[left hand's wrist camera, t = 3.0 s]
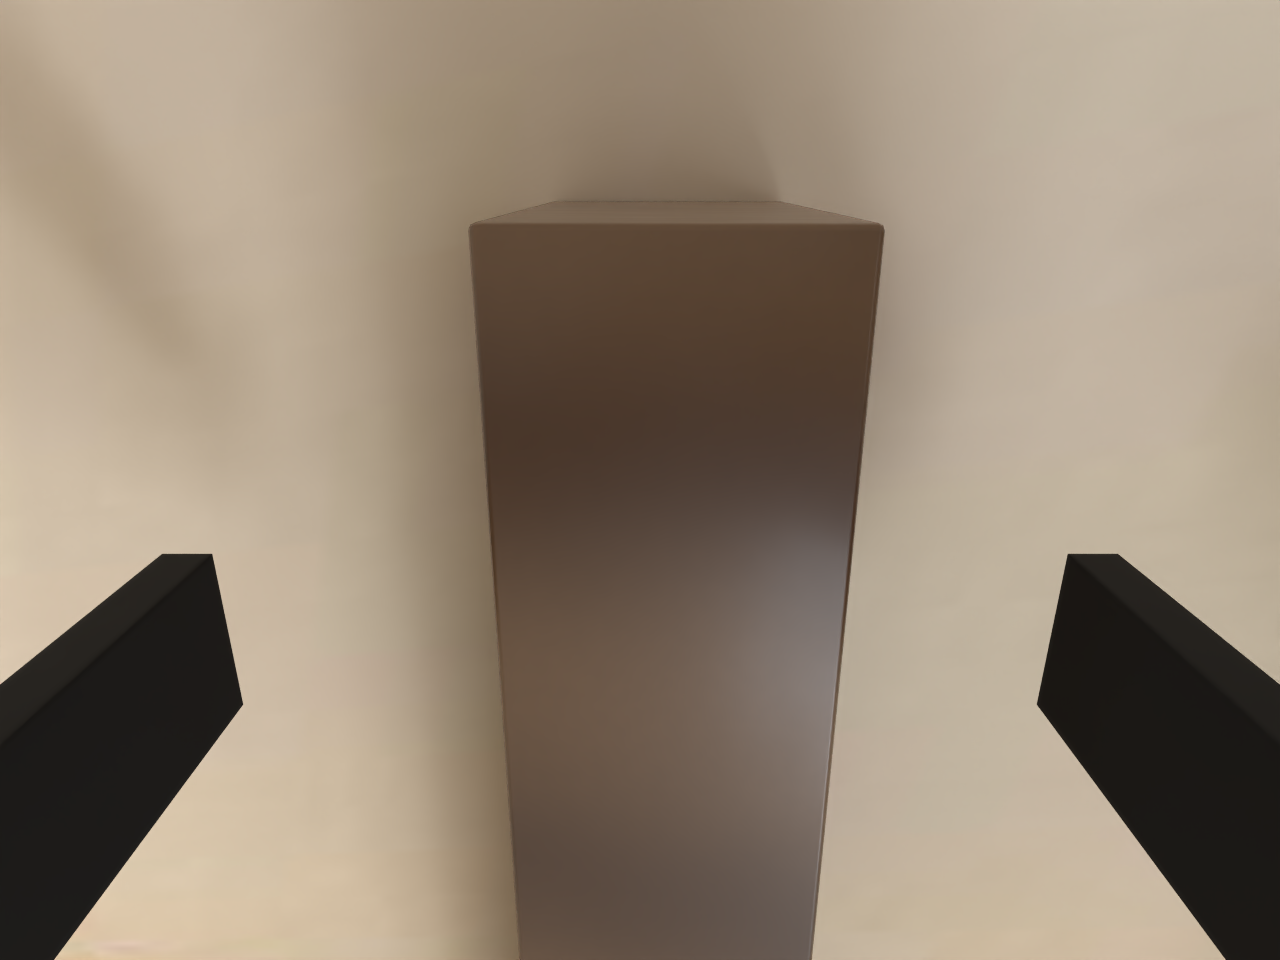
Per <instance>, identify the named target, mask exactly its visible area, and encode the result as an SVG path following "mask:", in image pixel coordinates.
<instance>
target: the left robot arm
mask: <svg viewBox="0 0 1280 960" xmlns="http://www.w3.org/2000/svg"><path fill="white" fill-rule="evenodd" d="M242 705H243V701H242V697H241V692H240V687H239V682H238V677H237V672H236V667H235V663H234V658H233V653H232V648H231V643H230V638H229V633H228V629H227V624H226V619H225V614H224V609H223V604H222V599H221V595H220V590H219V585H218V580H217V575H216V570H215V565H214V561H213V556H212V554H162V555H160V556H159V557H158V558H157V559H155V560H154V561H153V562H152V563H150V564H149V565H148V566H147V567H145V568H144V569H143V570H142V571H140V572H139V573H138V574H137V575H136V576H134V577H133V578H132V579H131V580H129V581H128V582H127V583H126V584H124V585H123V586H122V587H121V588H119V589H118V590H117V591H116V592H114V593H113V594H112V595H111V596H109V597H108V598H107V599H106V600H105V601H103V602H102V603H101V604H100V605H98V606H97V607H96V608H95V609H93V610H92V611H91V612H90V613H88V614H87V615H86V616H85V617H83V618H82V619H81V620H80V621H78V622H77V623H76V624H75V625H74V626H72V627H71V628H70V629H69V630H67V631H66V632H65V633H64V634H62V635H61V636H60V637H59V638H57V639H56V640H55V641H54V642H52V643H51V644H50V645H49V646H47V647H46V648H45V649H44V650H43V651H41V652H40V653H39V654H38V655H36V656H35V657H34V658H33V659H31V660H30V661H29V662H28V663H26V664H25V665H24V666H23V667H21V668H20V669H19V670H18V671H16V672H15V673H14V674H13V675H12V676H10V677H9V678H8V679H7V680H5V681H4V682H3V683H2V684H0V960H54V959H55V958H56V956H57V955H58V954H59V952H60V951H61V950H62V948H63V947H64V946H65V944H66V943H67V942H68V940H69V939H70V938H71V936H72V935H73V933H74V932H75V931H76V929H77V928H78V927H79V925H80V924H81V923H82V921H83V920H84V919H85V917H86V916H87V915H88V913H89V912H90V911H91V909H92V908H93V906H94V905H95V904H96V902H97V901H98V900H99V898H100V897H101V896H102V894H103V893H104V892H105V890H106V889H107V888H108V886H109V885H110V884H111V882H112V881H113V879H114V878H115V877H116V875H117V874H118V873H119V871H120V870H121V869H122V867H123V866H124V865H125V863H126V862H127V861H128V859H129V858H130V857H131V855H132V854H133V852H134V851H135V850H136V848H137V847H138V846H139V844H140V843H141V842H142V840H143V839H144V838H145V836H146V835H147V834H148V832H149V831H150V830H151V828H152V827H153V825H154V824H155V823H156V821H157V820H158V819H159V817H160V816H161V815H162V813H163V812H164V811H165V809H166V808H167V807H168V805H169V804H170V803H171V801H172V800H173V798H174V797H175V796H176V794H177V793H178V792H179V790H180V789H181V788H182V786H183V785H184V784H185V782H186V781H187V780H188V778H189V777H190V776H191V774H192V773H193V771H194V770H195V769H196V767H197V766H198V765H199V763H200V762H201V761H202V759H203V758H204V757H205V755H206V754H207V753H208V751H209V750H210V749H211V747H212V746H213V744H214V743H215V742H216V740H217V739H218V738H219V736H220V735H221V734H222V732H223V731H224V730H225V728H226V727H227V726H228V724H229V723H230V722H231V720H232V719H233V717H234V716H235V715H236V713H237V712H238V711H239V709H240V708H241V707H242ZM1037 705H1038V707H1039V708H1040V709H1041V711H1042V712H1043V713H1044V715H1045V716H1046V717H1047V719H1048V720H1049V722H1050V723H1051V724H1052V726H1053V727H1054V728H1055V730H1056V731H1057V732H1058V734H1059V735H1060V736H1061V738H1062V739H1063V740H1064V742H1065V743H1066V744H1067V746H1068V747H1069V749H1070V750H1071V751H1072V753H1073V754H1074V755H1075V757H1076V758H1077V759H1078V761H1079V762H1080V763H1081V765H1082V766H1083V767H1084V769H1085V770H1086V771H1087V773H1088V774H1089V776H1090V777H1091V778H1092V780H1093V781H1094V782H1095V784H1096V785H1097V786H1098V788H1099V789H1100V790H1101V792H1102V793H1103V794H1104V796H1105V797H1106V798H1107V800H1108V801H1109V803H1110V804H1111V805H1112V807H1113V808H1114V809H1115V811H1116V812H1117V813H1118V815H1119V816H1120V817H1121V819H1122V820H1123V821H1124V823H1125V824H1126V825H1127V827H1128V828H1129V830H1130V831H1131V832H1132V834H1133V835H1134V836H1135V838H1136V839H1137V840H1138V842H1139V843H1140V844H1141V846H1142V847H1143V848H1144V850H1145V851H1146V852H1147V854H1148V855H1149V857H1150V858H1151V859H1152V861H1153V862H1154V863H1155V865H1156V866H1157V867H1158V869H1159V870H1160V871H1161V873H1162V874H1163V875H1164V877H1165V878H1166V879H1167V881H1168V882H1169V884H1170V885H1171V886H1172V888H1173V889H1174V890H1175V892H1176V893H1177V894H1178V896H1179V897H1180V898H1181V900H1182V901H1183V902H1184V904H1185V905H1186V906H1187V908H1188V909H1189V911H1190V912H1191V913H1192V915H1193V916H1194V917H1195V919H1196V920H1197V921H1198V923H1199V924H1200V925H1201V927H1202V928H1203V929H1204V931H1205V932H1206V933H1207V935H1208V936H1209V938H1210V939H1211V940H1212V942H1213V943H1214V944H1215V946H1216V947H1217V948H1218V950H1219V951H1220V952H1221V954H1222V955H1223V956H1224V958H1225V959H1226V960H1280V684H1278V683H1277V682H1276V681H1275V680H1273V679H1272V678H1271V677H1270V676H1268V675H1267V674H1266V673H1265V672H1264V671H1262V670H1261V669H1260V668H1259V667H1257V666H1256V665H1255V664H1254V663H1252V662H1251V661H1250V660H1249V659H1247V658H1246V657H1245V656H1244V655H1242V654H1241V653H1240V652H1239V651H1237V650H1236V649H1235V648H1234V647H1233V646H1231V645H1230V644H1229V643H1228V642H1226V641H1225V640H1224V639H1223V638H1221V637H1220V636H1219V635H1218V634H1216V633H1215V632H1214V631H1213V630H1211V629H1210V628H1209V627H1208V626H1206V625H1205V624H1204V623H1203V622H1202V621H1200V620H1199V619H1198V618H1197V617H1195V616H1194V615H1193V614H1192V613H1190V612H1189V611H1188V610H1187V609H1185V608H1184V607H1183V606H1182V605H1180V604H1179V603H1178V602H1177V601H1175V600H1174V599H1173V598H1172V597H1171V596H1169V595H1168V594H1167V593H1166V592H1164V591H1163V590H1162V589H1161V588H1159V587H1158V586H1157V585H1156V584H1154V583H1153V582H1152V581H1151V580H1149V579H1148V578H1147V577H1146V576H1144V575H1143V574H1142V573H1141V572H1140V571H1138V570H1137V569H1136V568H1135V567H1133V566H1132V565H1131V564H1130V563H1128V562H1127V561H1126V560H1125V559H1123V558H1122V557H1121V556H1120V555H1118V554H1068V556H1067V561H1066V565H1065V570H1064V575H1063V580H1062V585H1061V590H1060V595H1059V599H1058V604H1057V609H1056V614H1055V619H1054V624H1053V629H1052V633H1051V638H1050V643H1049V648H1048V653H1047V658H1046V663H1045V667H1044V672H1043V677H1042V682H1041V687H1040V692H1039V697H1038V701H1037Z"/></svg>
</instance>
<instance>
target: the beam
mask: <svg viewBox="0 0 1280 960" xmlns="http://www.w3.org/2000/svg"><path fill="white" fill-rule="evenodd" d="M884 233H885V230H884V227H883V225H881V224H879V223H875V222H871V221H866V220H862V219H857V218H852V217H848V216H843V215H839V214H834V213H830V212H825V211H820V210H816V209H811V208H807V207H802V206H798V205H793V204H788V203H784V202H551V203H547V204H544V205H540V206H536V207H532V208H529V209H525V210H521V211H517V212H514V213H510V214H506V215H502V216H499V217H495V218H491V219H487V220H484V221H480V222H476V223H474V224H471V225H470V227H469V245H470V259H471V273H472V288H473V302H474V316H475V330H476V345H477V359H478V373H479V387H480V402H481V416H482V430H483V445H484V459H485V473H486V487H487V502H488V516H489V530H490V544H491V559H492V573H493V587H494V601H495V616H496V630H497V644H498V658H499V673H500V687H501V701H502V715H503V730H504V744H505V758H506V772H507V787H508V801H509V815H510V829H511V844H512V858H513V872H514V887H515V901H516V915H517V929H518V944H519V958H520V960H812V951H813V941H814V931H815V921H816V911H817V901H818V892H819V882H820V872H821V862H822V852H823V842H824V832H825V822H826V812H827V802H828V792H829V782H830V772H831V762H832V752H833V742H834V732H835V722H836V712H837V702H838V692H839V682H840V672H841V662H842V652H843V642H844V632H845V622H846V612H847V602H848V592H849V582H850V572H851V562H852V552H853V542H854V532H855V522H856V512H857V502H858V493H859V483H860V473H861V463H862V453H863V443H864V433H865V423H866V413H867V403H868V393H869V383H870V373H871V363H872V353H873V343H874V333H875V323H876V313H877V303H878V293H879V283H880V273H881V263H882V253H883V243H884Z"/></svg>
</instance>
